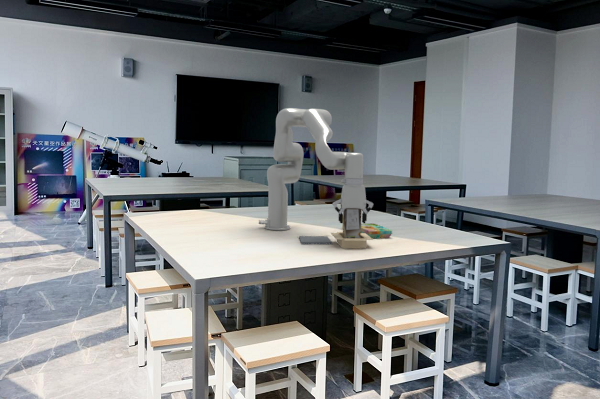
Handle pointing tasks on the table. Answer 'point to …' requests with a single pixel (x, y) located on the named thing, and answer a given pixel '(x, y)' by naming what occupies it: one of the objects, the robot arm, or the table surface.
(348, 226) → the coffee box
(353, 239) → the carton
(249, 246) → the table surface
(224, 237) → the table surface
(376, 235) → the puzzle game
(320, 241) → the mat
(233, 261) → the table surface
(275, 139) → the robot arm
